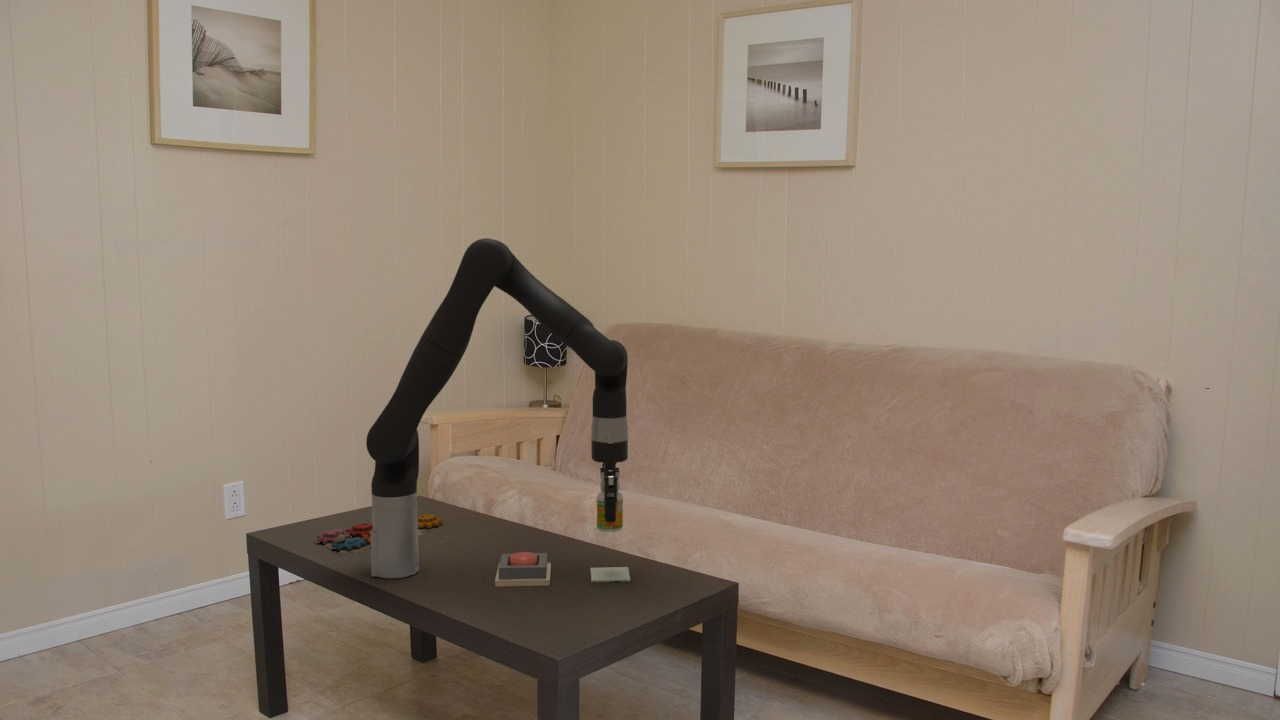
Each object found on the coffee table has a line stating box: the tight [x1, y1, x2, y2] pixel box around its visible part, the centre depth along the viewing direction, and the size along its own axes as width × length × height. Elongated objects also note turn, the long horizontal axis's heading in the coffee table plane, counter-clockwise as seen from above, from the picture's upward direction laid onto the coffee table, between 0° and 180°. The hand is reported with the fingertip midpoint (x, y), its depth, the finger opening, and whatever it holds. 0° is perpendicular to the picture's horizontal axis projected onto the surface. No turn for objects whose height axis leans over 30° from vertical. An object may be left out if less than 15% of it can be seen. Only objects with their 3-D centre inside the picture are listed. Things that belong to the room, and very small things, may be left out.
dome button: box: [510, 551, 537, 566], centre depth 199 cm, size 6×6×3 cm
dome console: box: [494, 552, 552, 588], centre depth 200 cm, size 11×11×4 cm
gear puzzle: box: [314, 513, 444, 553], centre depth 230 cm, size 31×16×4 cm, turn 135°
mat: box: [590, 566, 631, 583], centre depth 201 cm, size 8×8×1 cm
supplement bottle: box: [596, 481, 624, 533], centre depth 200 cm, size 5×5×10 cm
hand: (609, 517), depth 200 cm, fingers closed on supplement bottle, 5 cm apart
